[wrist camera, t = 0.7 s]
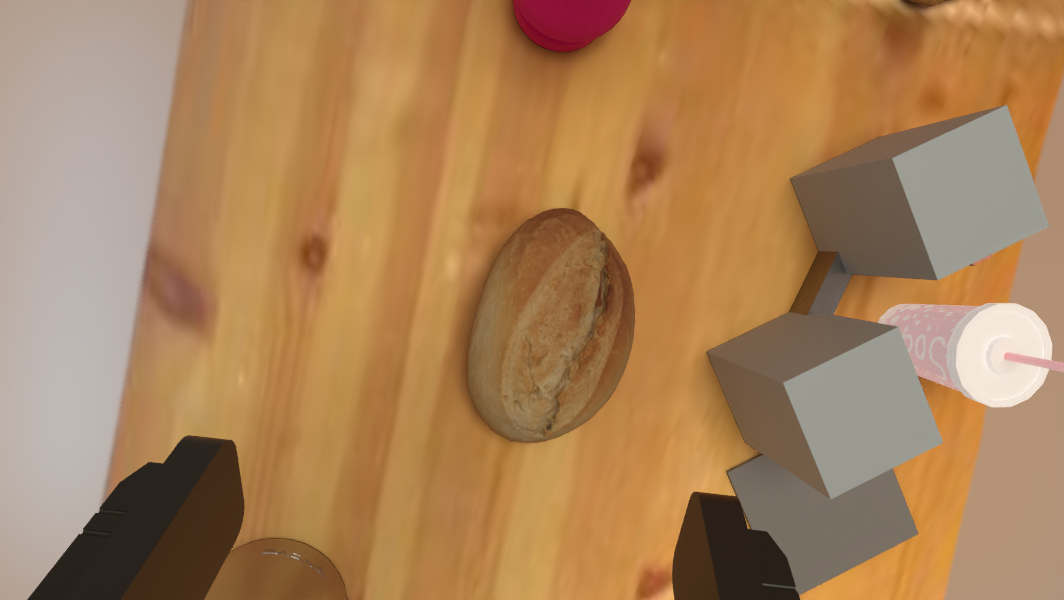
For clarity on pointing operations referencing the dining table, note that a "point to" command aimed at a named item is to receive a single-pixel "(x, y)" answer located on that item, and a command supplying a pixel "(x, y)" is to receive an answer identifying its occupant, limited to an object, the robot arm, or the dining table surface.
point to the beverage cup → (977, 348)
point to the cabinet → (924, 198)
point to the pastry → (927, 2)
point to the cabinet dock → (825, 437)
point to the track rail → (822, 285)
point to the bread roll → (550, 329)
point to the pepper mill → (567, 21)
